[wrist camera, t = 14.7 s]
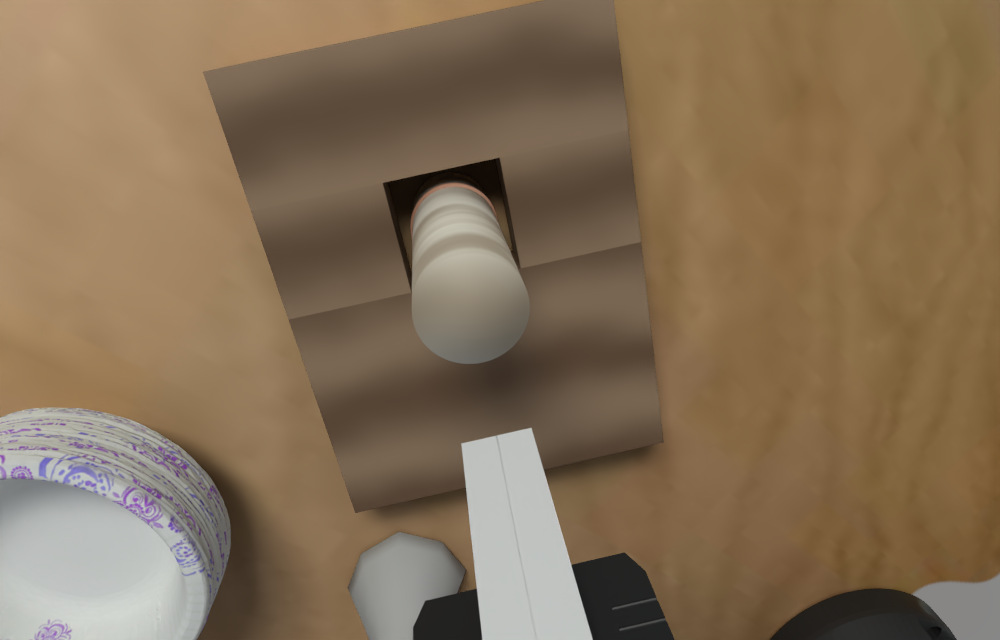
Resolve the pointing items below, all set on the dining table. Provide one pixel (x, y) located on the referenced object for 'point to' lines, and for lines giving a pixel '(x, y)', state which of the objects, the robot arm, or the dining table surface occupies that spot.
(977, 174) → the dining table surface
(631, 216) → the board
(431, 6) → the dining table surface
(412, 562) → the flask
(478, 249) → the peg
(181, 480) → the paper bowls
